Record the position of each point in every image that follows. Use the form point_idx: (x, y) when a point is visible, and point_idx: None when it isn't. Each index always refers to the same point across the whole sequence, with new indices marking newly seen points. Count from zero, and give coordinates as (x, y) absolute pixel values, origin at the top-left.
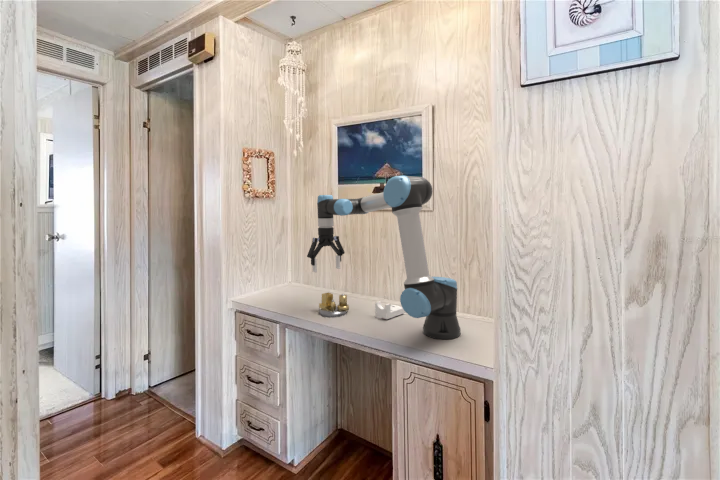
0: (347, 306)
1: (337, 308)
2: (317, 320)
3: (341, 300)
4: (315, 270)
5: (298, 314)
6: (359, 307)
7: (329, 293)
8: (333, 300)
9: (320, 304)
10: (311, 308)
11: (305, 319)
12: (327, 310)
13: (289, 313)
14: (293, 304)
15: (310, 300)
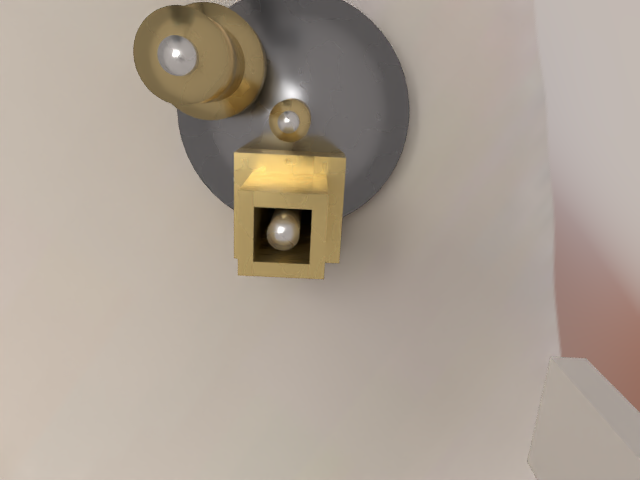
0: (192, 4)
1: (259, 93)
2: (501, 42)
3: (229, 38)
4: (610, 387)
5: (505, 265)
6: (26, 85)
7: (251, 236)
8: (286, 111)
9: (340, 240)
10: (350, 321)
11: (547, 131)
12: (336, 138)
13: (533, 325)
14: (388, 469)
15: (244, 474)
